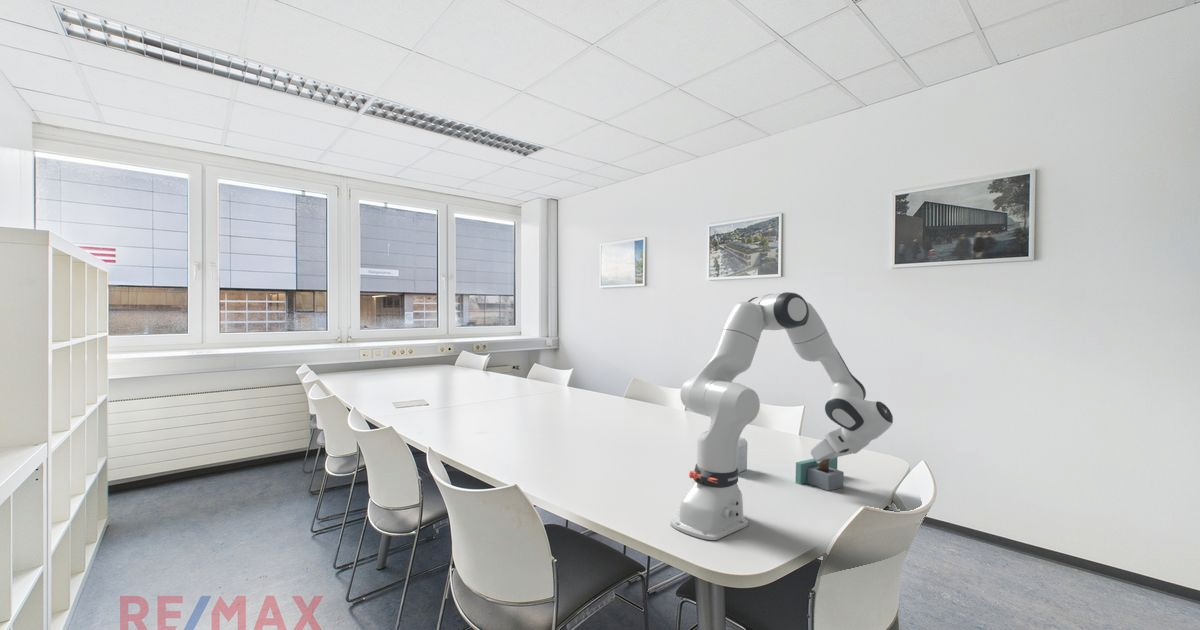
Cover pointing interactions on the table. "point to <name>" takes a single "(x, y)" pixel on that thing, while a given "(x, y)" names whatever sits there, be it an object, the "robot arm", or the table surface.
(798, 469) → the backstop board
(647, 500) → the table surface
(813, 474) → the socket block
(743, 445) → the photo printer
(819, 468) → the walnut dowel
